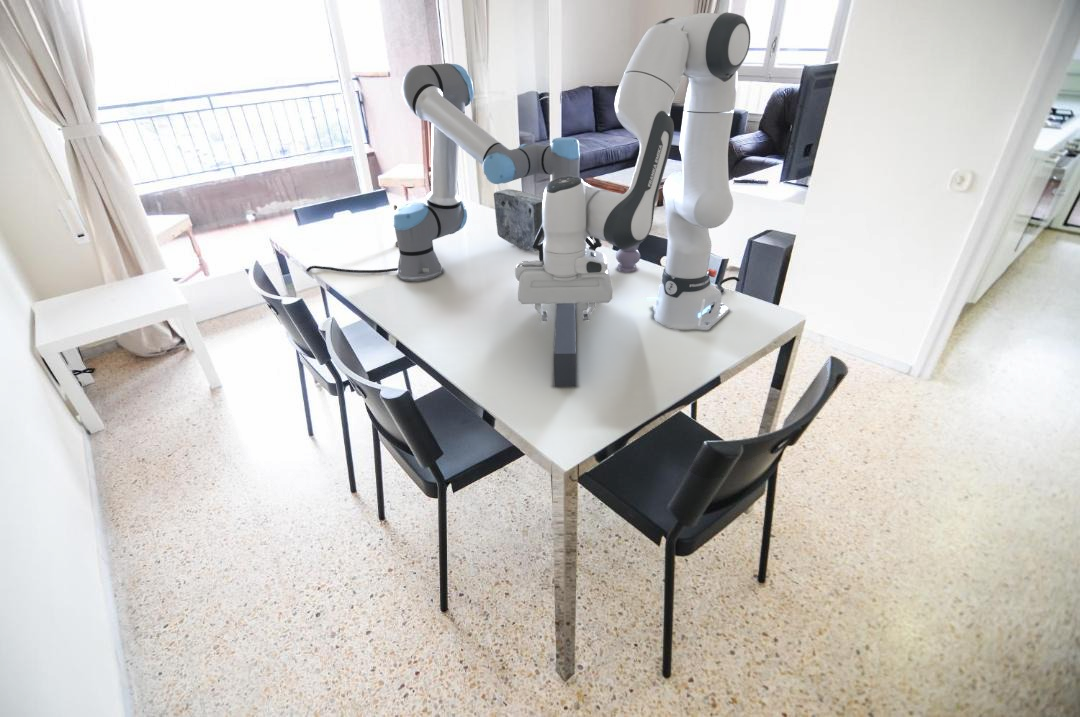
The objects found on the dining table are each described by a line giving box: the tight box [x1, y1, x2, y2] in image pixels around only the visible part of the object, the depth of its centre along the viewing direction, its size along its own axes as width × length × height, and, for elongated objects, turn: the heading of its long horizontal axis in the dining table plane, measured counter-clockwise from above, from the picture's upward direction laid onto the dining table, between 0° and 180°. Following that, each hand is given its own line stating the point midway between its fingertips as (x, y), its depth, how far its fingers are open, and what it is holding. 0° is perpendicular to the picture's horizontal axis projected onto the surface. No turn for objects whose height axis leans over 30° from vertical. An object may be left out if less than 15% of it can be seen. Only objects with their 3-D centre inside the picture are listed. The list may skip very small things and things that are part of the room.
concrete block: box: [493, 188, 545, 252], centre depth 191 cm, size 27×9×20 cm, turn 36°
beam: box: [553, 303, 577, 387], centre depth 134 cm, size 53×5×9 cm, turn 177°
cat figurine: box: [615, 244, 641, 273], centre depth 170 cm, size 8×8×12 cm
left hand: (567, 270), depth 150 cm, fingers open, 13 cm apart
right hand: (565, 319), depth 110 cm, fingers open, 8 cm apart
